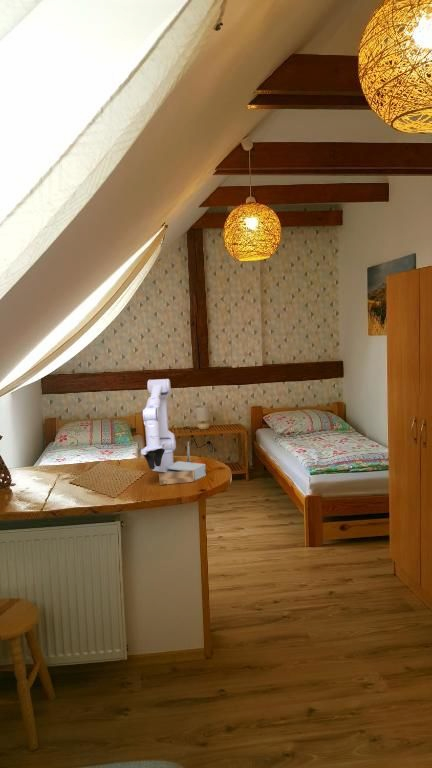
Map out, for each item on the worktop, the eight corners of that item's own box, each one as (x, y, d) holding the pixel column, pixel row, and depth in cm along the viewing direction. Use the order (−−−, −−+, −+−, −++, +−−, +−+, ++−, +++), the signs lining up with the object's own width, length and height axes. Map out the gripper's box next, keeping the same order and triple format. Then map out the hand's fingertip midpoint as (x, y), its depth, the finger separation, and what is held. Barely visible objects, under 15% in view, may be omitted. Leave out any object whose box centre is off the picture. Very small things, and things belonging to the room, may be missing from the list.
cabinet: (166, 477, 255) (165, 466, 254) (178, 471, 264) (178, 461, 263) (193, 481, 247) (193, 470, 247) (206, 474, 256) (205, 464, 255)
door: (194, 480, 247) (193, 470, 246) (195, 482, 245) (194, 471, 244) (159, 484, 245) (158, 473, 244) (159, 485, 243) (159, 475, 242)
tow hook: (200, 464, 276) (183, 466, 272) (199, 437, 275) (182, 440, 270) (208, 467, 269) (191, 470, 265) (208, 441, 268) (190, 443, 263)
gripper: (149, 440, 228) (152, 473, 230) (170, 432, 240) (172, 463, 242) (135, 439, 232) (138, 471, 234) (157, 431, 244) (159, 462, 246)
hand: (155, 467), depth 238 cm, fingers open, 4 cm apart
